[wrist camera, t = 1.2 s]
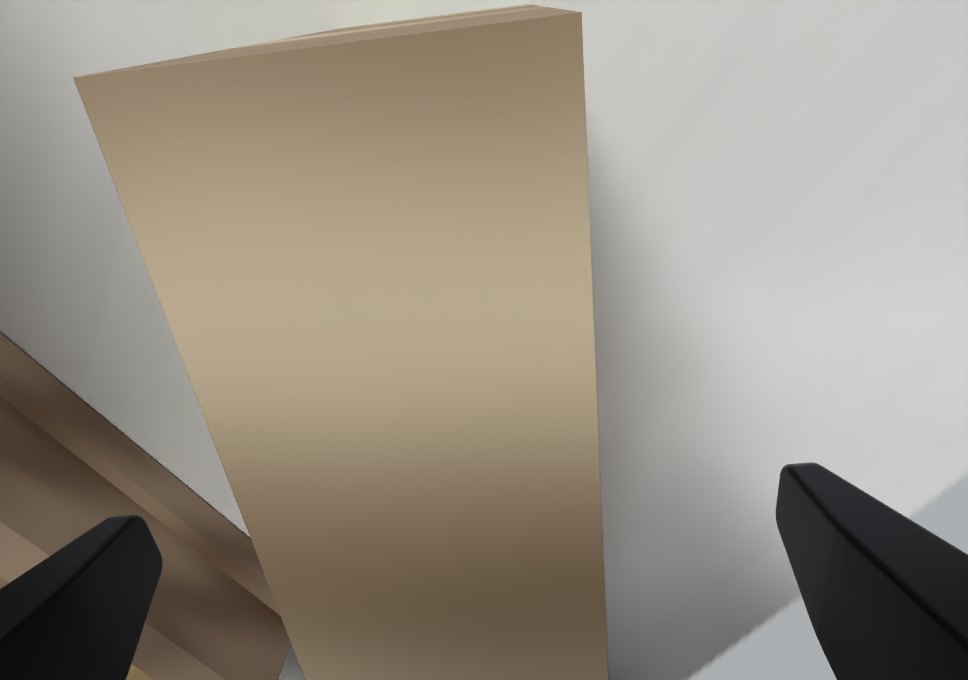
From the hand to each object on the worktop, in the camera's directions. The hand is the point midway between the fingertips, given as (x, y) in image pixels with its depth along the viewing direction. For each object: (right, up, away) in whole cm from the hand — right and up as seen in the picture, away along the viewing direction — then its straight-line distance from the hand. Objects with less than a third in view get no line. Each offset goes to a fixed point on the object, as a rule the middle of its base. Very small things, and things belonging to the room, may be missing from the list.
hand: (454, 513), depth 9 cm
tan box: (0, +3, +6) cm, 7 cm away
